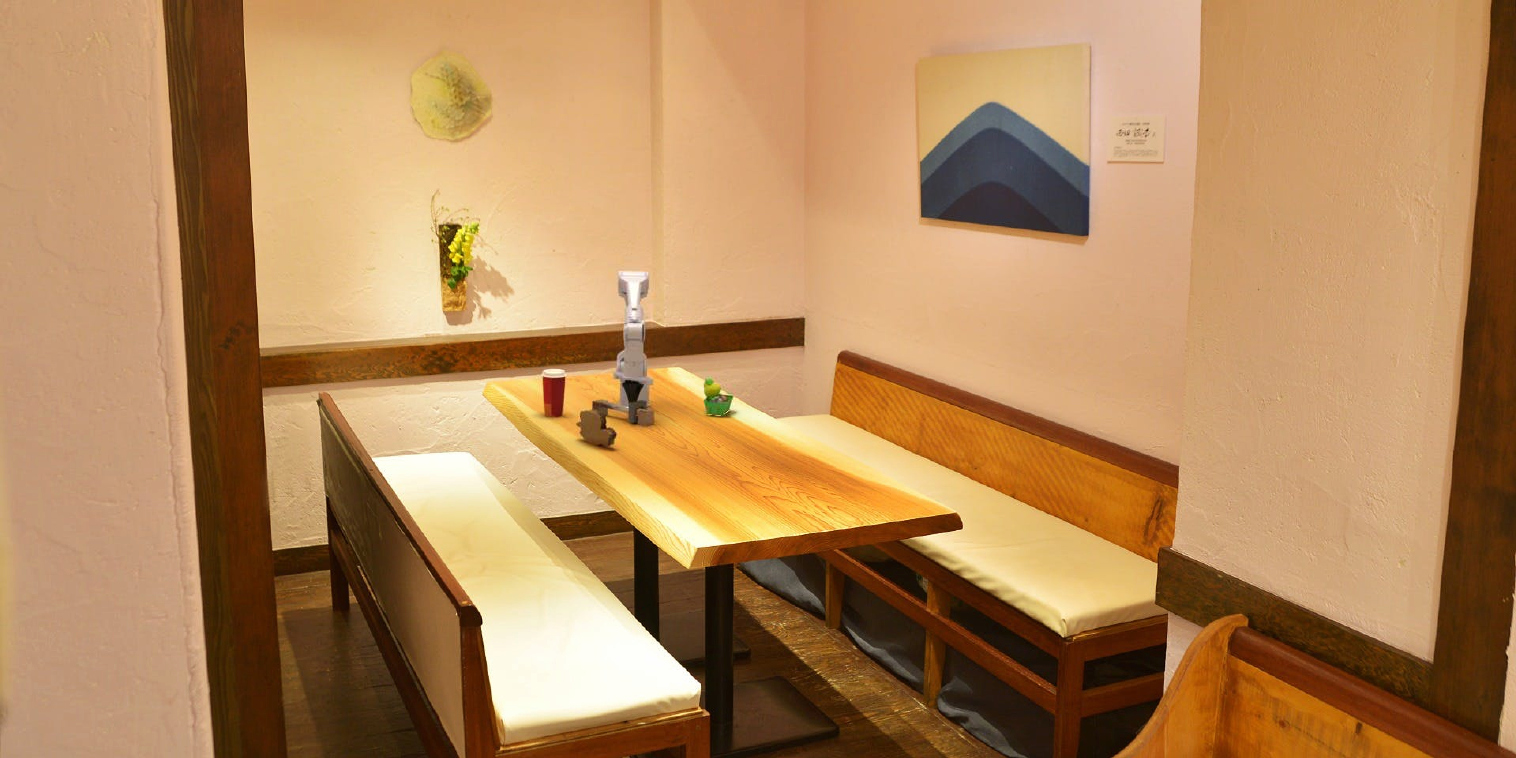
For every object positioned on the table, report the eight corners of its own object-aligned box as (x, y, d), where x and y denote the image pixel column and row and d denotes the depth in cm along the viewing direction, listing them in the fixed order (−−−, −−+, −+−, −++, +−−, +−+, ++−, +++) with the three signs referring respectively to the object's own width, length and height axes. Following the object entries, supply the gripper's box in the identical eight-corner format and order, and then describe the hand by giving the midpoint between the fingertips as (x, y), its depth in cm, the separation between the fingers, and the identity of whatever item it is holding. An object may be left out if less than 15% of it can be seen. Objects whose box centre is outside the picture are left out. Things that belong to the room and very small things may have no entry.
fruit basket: (725, 418, 407) (727, 383, 405) (698, 416, 409) (699, 381, 407) (733, 410, 418) (734, 376, 416) (707, 408, 420) (708, 374, 418)
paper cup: (568, 413, 405) (569, 369, 403) (562, 418, 398) (563, 374, 395) (544, 411, 406) (544, 368, 403) (537, 416, 399) (538, 372, 396)
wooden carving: (621, 448, 365) (622, 414, 363) (609, 451, 362) (610, 416, 360) (583, 437, 376) (583, 404, 374) (571, 440, 372) (571, 406, 370)
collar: (628, 422, 395) (628, 402, 393) (641, 418, 399) (641, 400, 398) (633, 423, 393) (633, 403, 392) (646, 420, 398) (646, 401, 397)
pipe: (592, 414, 405) (592, 400, 404) (601, 412, 408) (601, 398, 407) (645, 426, 392) (645, 411, 391) (653, 424, 395) (654, 409, 394)
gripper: (607, 359, 395) (606, 403, 398) (642, 366, 387) (641, 410, 389) (622, 357, 401) (621, 399, 403) (658, 363, 392) (657, 407, 395)
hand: (632, 405), depth 397 cm, fingers closed
